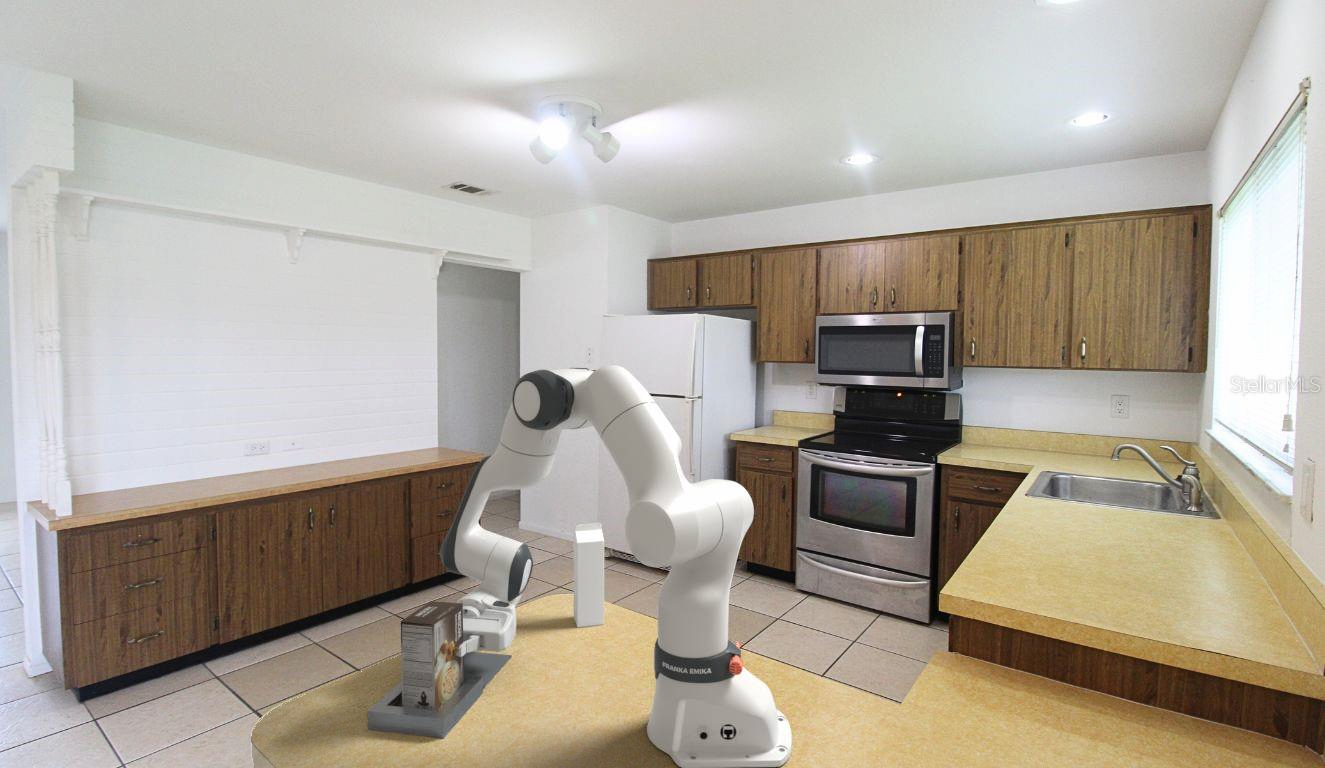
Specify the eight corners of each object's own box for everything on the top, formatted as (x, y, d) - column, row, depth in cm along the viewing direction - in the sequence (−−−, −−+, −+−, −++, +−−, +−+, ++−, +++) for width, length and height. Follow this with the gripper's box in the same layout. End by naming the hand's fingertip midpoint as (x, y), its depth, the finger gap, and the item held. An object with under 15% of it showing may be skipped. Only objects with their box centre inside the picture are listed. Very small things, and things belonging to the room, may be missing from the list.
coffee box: (432, 688, 111) (431, 599, 111) (465, 692, 110) (464, 602, 109) (400, 717, 102) (399, 620, 102) (436, 722, 101) (435, 623, 100)
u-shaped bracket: (483, 692, 110) (483, 676, 110) (443, 738, 96) (443, 719, 96) (415, 686, 112) (414, 669, 112) (367, 729, 99) (367, 711, 98)
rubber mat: (511, 657, 123) (511, 655, 123) (484, 688, 111) (484, 686, 111) (454, 652, 125) (454, 650, 125) (422, 682, 113) (422, 680, 113)
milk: (604, 625, 139) (604, 526, 138) (576, 628, 137) (577, 528, 136) (599, 614, 144) (599, 519, 144) (573, 616, 143) (573, 521, 142)
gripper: (423, 598, 121) (379, 627, 108) (523, 605, 118) (491, 636, 104) (423, 630, 122) (380, 663, 108) (523, 638, 118) (491, 673, 105)
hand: (435, 650), depth 106 cm, fingers closed on coffee box, 6 cm apart
